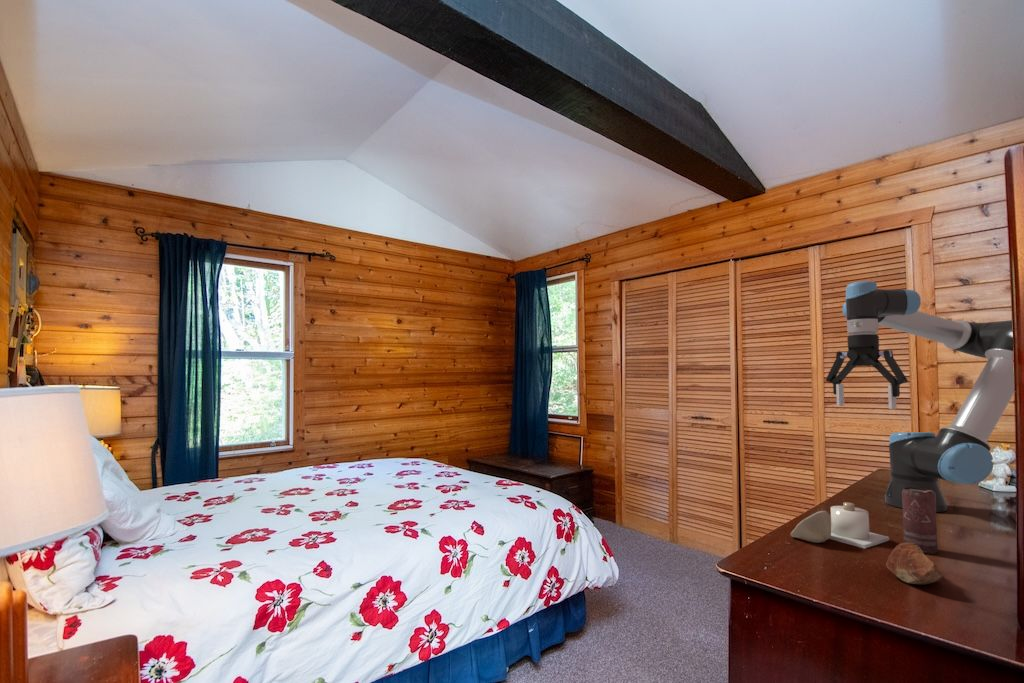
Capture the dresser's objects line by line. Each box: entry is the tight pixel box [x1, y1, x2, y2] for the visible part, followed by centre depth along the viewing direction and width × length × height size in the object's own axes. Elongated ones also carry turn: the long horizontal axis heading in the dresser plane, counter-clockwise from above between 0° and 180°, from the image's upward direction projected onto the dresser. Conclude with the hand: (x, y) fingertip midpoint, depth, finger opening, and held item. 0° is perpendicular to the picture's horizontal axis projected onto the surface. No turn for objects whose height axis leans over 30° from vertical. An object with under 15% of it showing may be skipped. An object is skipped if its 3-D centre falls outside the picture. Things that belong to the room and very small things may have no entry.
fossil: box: [885, 542, 943, 586], centre depth 100 cm, size 13×8×10 cm
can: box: [902, 487, 939, 555], centre depth 118 cm, size 6×6×14 cm
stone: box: [790, 510, 831, 544], centre depth 123 cm, size 10×7×10 cm
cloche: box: [830, 501, 870, 539], centre depth 126 cm, size 8×8×8 cm
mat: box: [828, 531, 890, 549], centre depth 126 cm, size 12×12×1 cm
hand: (865, 407), depth 145 cm, fingers open, 13 cm apart
